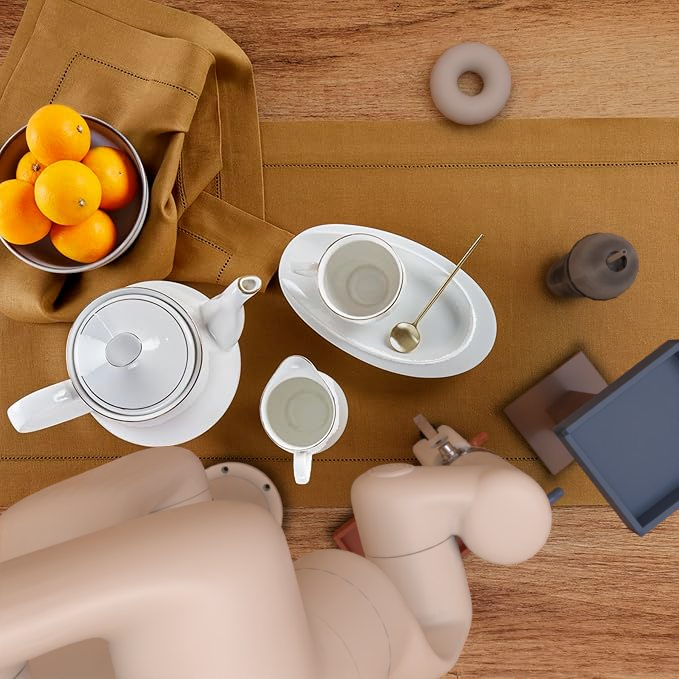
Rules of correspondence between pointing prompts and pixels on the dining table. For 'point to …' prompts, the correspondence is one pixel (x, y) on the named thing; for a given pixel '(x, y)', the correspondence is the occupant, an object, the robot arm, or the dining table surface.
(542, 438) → the stand
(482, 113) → the donut
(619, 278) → the beverage cup
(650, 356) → the blue tray
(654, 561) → the dining table surface
